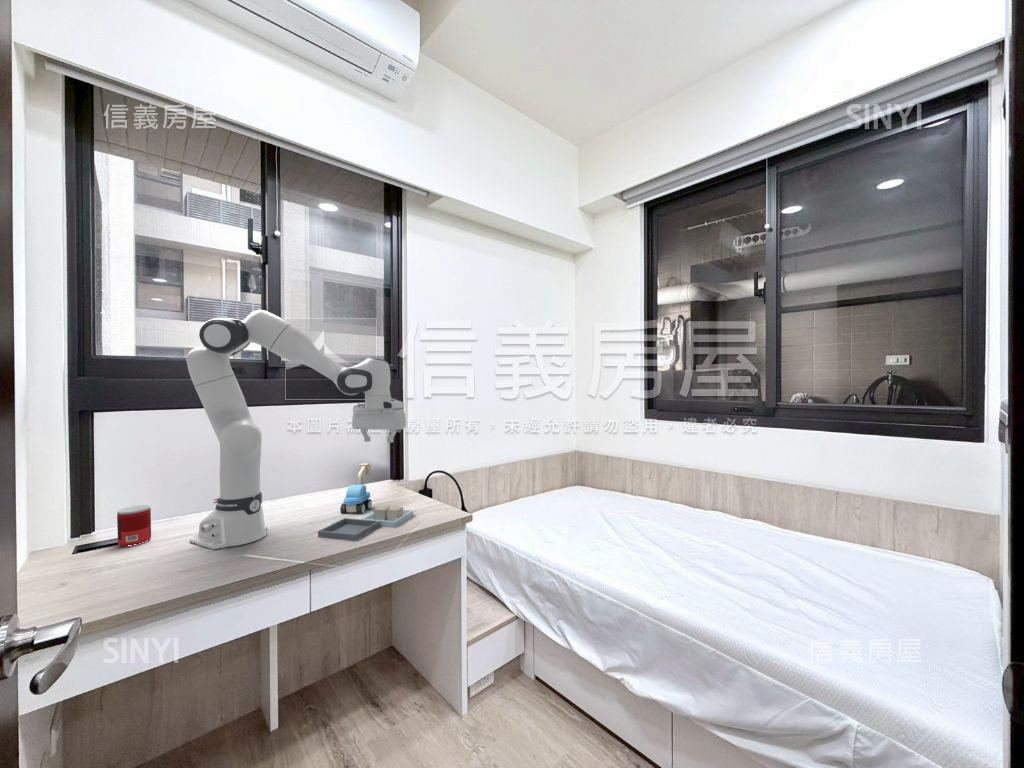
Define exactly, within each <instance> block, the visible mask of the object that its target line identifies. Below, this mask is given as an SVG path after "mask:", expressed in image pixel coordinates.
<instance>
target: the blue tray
mask: <svg viewBox="0 0 1024 768" xmlns="http://www.w3.org/2000/svg"><path fill="white" fill-rule="evenodd" d="M413 516H414V510H413V509H411V510H410V509H403V516H402V517H400V518H398V519H397V520H395V521H387V520H385V521H384V520H374V512H372V513H370V514H368V515H366V516H365V517H363V518H360V519H361V520H372V521H380V527H384V528H386V527H387V528H396V527H397V526H399V525H401V524H402V523H404V522H405V521H407V520H408V519H410V518H412V517H413Z"/></svg>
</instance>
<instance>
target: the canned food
mask: <svg viewBox="0 0 1024 768" xmlns="http://www.w3.org/2000/svg"><path fill="white" fill-rule="evenodd" d="M151 507H152V506H151V505H148V504H144V505H143V504H142V505H141V504H140V505H133V506H129V507H124V508H121V509H119V510H117V515H116V519H117V521H116V522H117V524H116V525H117V544H118V546H119V545H120V546H128V545H134V544H139V543H142V542H145V541H147V540H149V539H150V538H152V518H151V517H152V515H151V514H152V511H151V510H152V508H151ZM150 540H151V539H150ZM150 540H149V541H150ZM120 546H119V547H120Z"/></svg>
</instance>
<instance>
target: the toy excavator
mask: <svg viewBox="0 0 1024 768" xmlns="http://www.w3.org/2000/svg"><path fill="white" fill-rule="evenodd" d="M371 472H372V470H371V464H370V463H367V462H365V463H360V470H359V471H358V474H357V484H351V485H349V486H348V487H347V489H346V493H345V497H344V498H343V503H341V504H340V506H339V507H340V509H339V510H340V511H339V512H340V514H347V513H350V514H351V513H356V514H357V515H358V514H363V513H364V512H365V511H366V510H369V511H370V510H371V509H372V507H373V505H372V504H373V502H372V499H370V498H371V492H370V491H369V492H368V491H367V486H366V485H365V484H364V476H365V475H366V476H367V475H370V474H371Z"/></svg>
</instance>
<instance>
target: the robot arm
mask: <svg viewBox="0 0 1024 768" xmlns="http://www.w3.org/2000/svg"><path fill="white" fill-rule="evenodd" d="M198 336H199V339H200V342H201V344H202V345H200V346H196V347H194V348H193V349H191V350H190V351H189V352H187V354H186V357H185V360H186V366H187V370H188V373H189V377H190V380H191V382H192V384H193V386H194V389H195V391H196V393H197V396H198V398H199V400H200V402H201V404H202V406H203V409H204V411H205V413H206V415H207V418H208V419H209V420H208V421H209V422H210V424H211V426H212V429H213V431H214V433H215V436H216V438H217V440H218V442H219V472H218V473H219V497H218V498H216V499H213V501H214V502H213V504H216V506H215V509H214V510H213V511H212V512H210V513H209V514H208V515H207V516H206V517H204V518H203V519H202V520H201V521H200V523H199V527H198V534H195V535H194V536H192V537H190V539H189V543H191V542H192V543H191V544H194V543H195V544H194V545H198V546H202V547H204V548H207V549H211V550H219V548H220V549H223V548H224V549H225V548H228V547H235V546H241V545H246V544H249V543H252V542H255V541H259V540H261V539H263V538H265V536H267V533H268V532H267V529H268V526H267V525H266V523H265V516H264V509H263V506H262V502H263V493H262V492H261V460H262V459H261V458H262V437H263V436H262V431H261V430H260V428H259V426H257V424H256V423H254V421H253V419H252V415H251V413H250V410H249V407H248V405H247V402H246V398H245V396H244V394H243V391H242V389H241V387H240V384H239V382H238V380H237V377H236V375H235V372H234V371H233V369H232V365H231V362H230V358H231V357H233V356H235V355H236V354H238V353H240V352H241V351H243V350H245V349H246V348H247V347H248V346H249V345H250V344H251V343H254V344H256V345H260V346H262V347H263V348H264V349H266V350H268V351H269V352H271V353H272V354H275V355H276V356H278V357H280V358H283V359H284V360H287V361H291V362H294V363H297V364H299V365H302V366H303V365H304V366H307V367H309V368H310V369H313V370H314V371H316V372H318V373H320V374H321V375H323V376H324V377H326V378H328V379H329V380H330V381H332V382H333V383H334V385H335V386H336V388H337V389H338V390H339V391H340V393H342V394H344V395H346V396H355V395H358V394H360V393H364V402H363V403H359V402H358V403H356V404H355V405H354V406H353V407H352V418H351V426H352V429H354V430H360V433H361V435H362V436H363V441H364V442H366V443H369V442H371V436H369V434H368V431H369V430H381V431H382V430H385V431H386V430H388V431H389V434H390V435H389V436H388V437H386V440H387V443H394V437H395V435H396V434H397V431H400V430H404V429H405V428H406V423H407V421H406V419H407V418H406V413H405V412H406V411H405V410H404V409H403V408H404V406H405V405H404V402H403V401H401V400H398V399H395V398H393V397H392V395H391V389H390V386H391V369H390V365H389V363H388V362H387V361H386V360H384V359H382V358H378V357H377V358H375V357H368V358H366V359H365V360H363V361H361V362H360V363H358V364H355V365H352V366H349V367H347V366H344V365H341V364H339V363H338V362H336V361H335V360H333V359H332V358H330V357H329V356H327V355H326V354H324V353H323V352H322V351H320V350H319V349H318V348H317V347H316V345H315V344H314V343H313V342H312V340H311V339H310V338H309V337H308V336H307V334H305V333H304V332H303V331H302V330H301V329H299V328H298V327H297V326H295V325H294V324H292V323H290V322H288V321H287V320H285V319H284V318H282V317H279V316H278V315H276V314H273V313H271V312H269V311H267V310H263V309H257V310H254V311H252V312H251V313H249V315H247V316H246V318H244V319H243V320H241V319H237V318H233V317H232V318H231V317H215V318H212V319H209V320H207V321H206V322H204V323H203V324H202V326H201V327H200V329H199V333H198Z"/></svg>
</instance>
